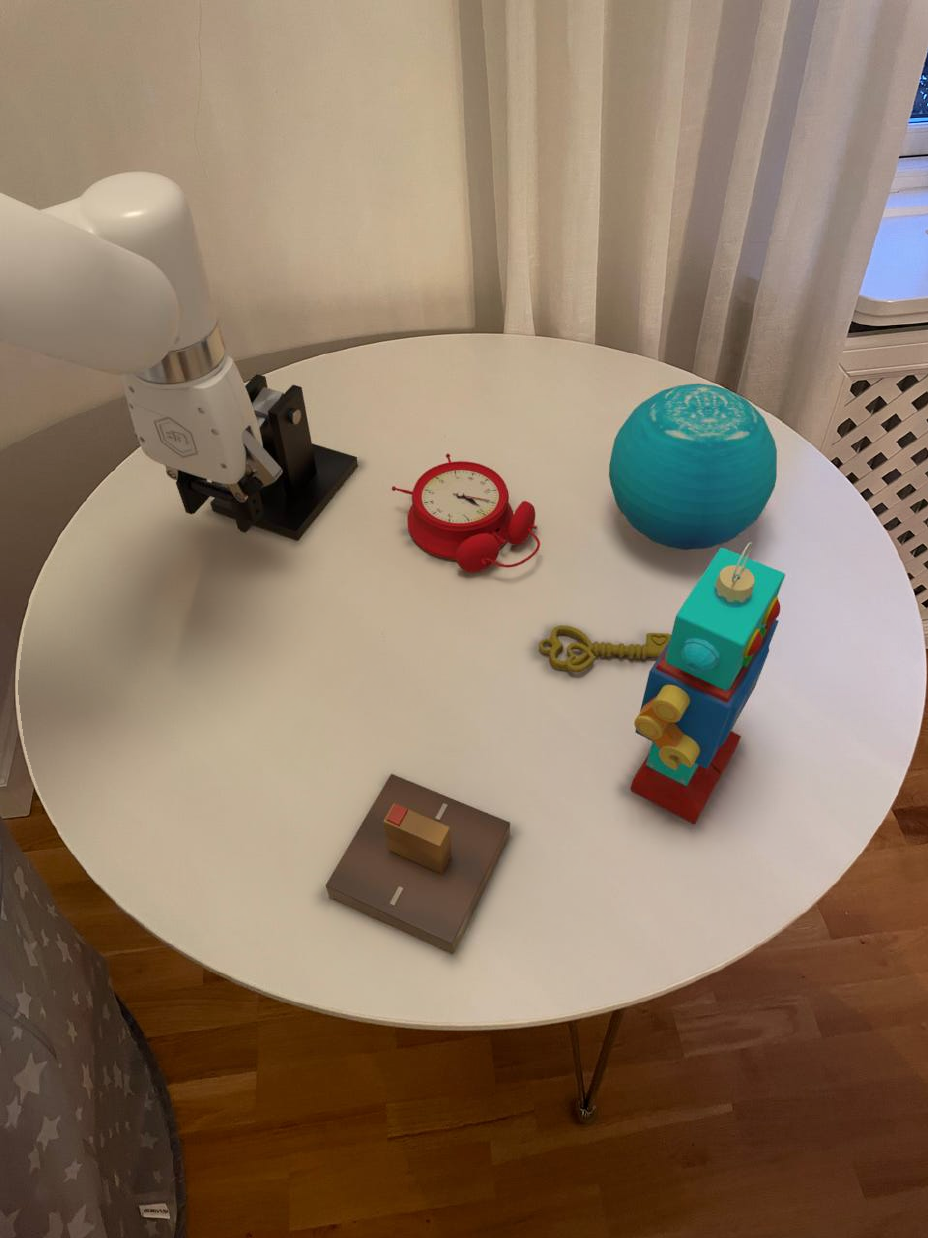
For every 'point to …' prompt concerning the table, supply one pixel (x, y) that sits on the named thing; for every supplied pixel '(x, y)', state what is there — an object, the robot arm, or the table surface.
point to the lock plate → (420, 867)
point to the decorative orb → (693, 466)
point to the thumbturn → (418, 838)
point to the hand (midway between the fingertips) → (224, 511)
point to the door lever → (261, 411)
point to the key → (597, 648)
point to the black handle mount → (294, 467)
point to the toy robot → (706, 681)
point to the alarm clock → (467, 515)
